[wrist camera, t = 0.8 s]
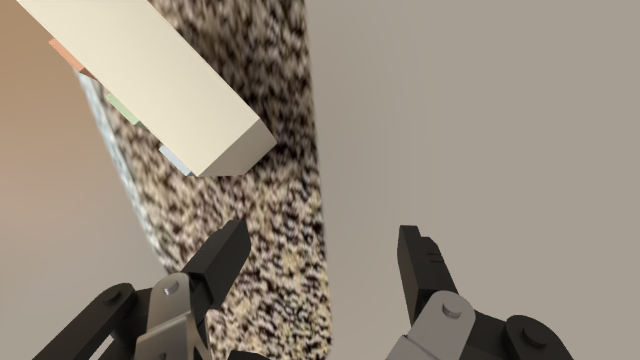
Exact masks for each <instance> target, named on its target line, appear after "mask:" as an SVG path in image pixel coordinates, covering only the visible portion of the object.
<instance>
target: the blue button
mask: <svg viewBox="0 0 640 360" xmlns="http://www.w3.org/2000/svg"><path fill="white" fill-rule="evenodd" d="M159 150H160V151H161V152H162V153H163V154H164V155H165V156H166V157H167V158H168V159H169V160H170V161H171V162H172V163H173V164H174V165H175V166H176V167H177V168H178V169H179V170H180V171H181V172H182V173H183V174H184V175H185V176H196V175H195V174H194V173H193V172H192V171H191V170H190V169H189V168H188V167H187V166H186V165H185V164H184V163H183V162H181V161H180V160H179V159H178V158H177V157H176V156H175V155H174V154H173V153H172V152H171V151H170V150H169V149H168V148H167V147H166V146H165V145H163V146H162V147H161V148H160V149H159Z"/></svg>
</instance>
